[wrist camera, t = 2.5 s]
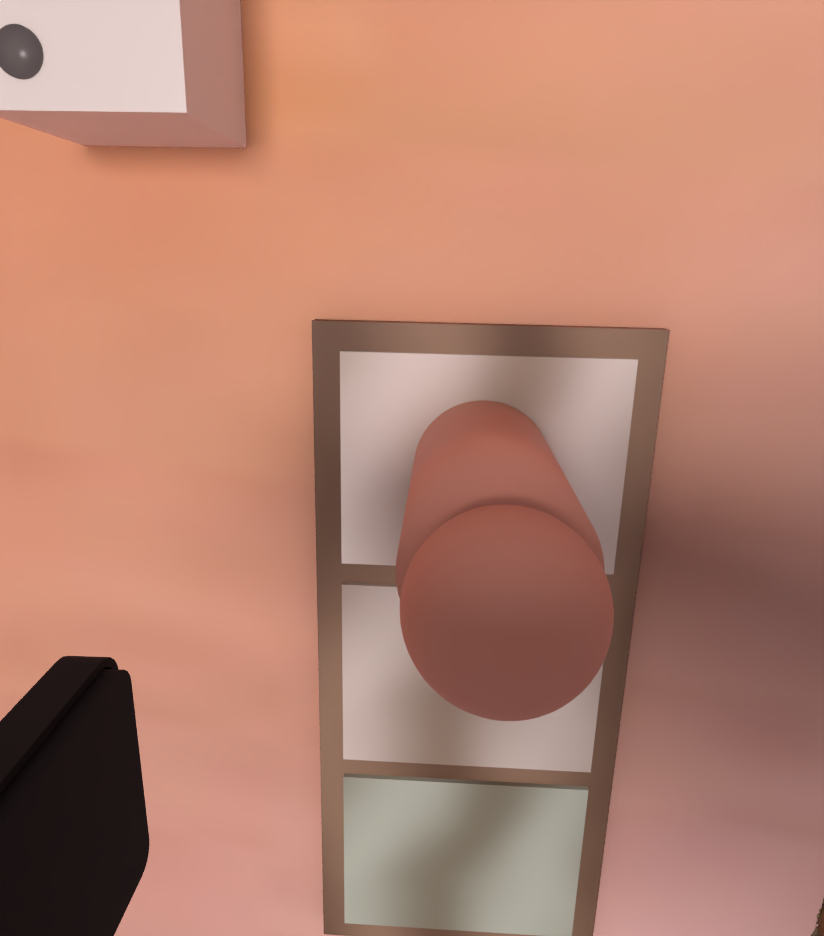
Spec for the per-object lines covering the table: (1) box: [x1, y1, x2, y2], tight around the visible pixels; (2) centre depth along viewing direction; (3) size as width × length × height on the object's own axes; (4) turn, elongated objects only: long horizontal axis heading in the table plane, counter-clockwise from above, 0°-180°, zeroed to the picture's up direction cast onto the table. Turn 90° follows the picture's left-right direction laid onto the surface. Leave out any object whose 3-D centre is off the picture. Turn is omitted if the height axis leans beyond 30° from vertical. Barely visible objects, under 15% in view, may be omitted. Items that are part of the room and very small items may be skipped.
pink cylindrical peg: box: [395, 400, 614, 721], centre depth 17 cm, size 4×4×12 cm
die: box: [0, 0, 247, 148], centre depth 18 cm, size 5×5×5 cm
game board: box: [312, 319, 670, 936], centre depth 25 cm, size 11×25×1 cm, turn 179°
